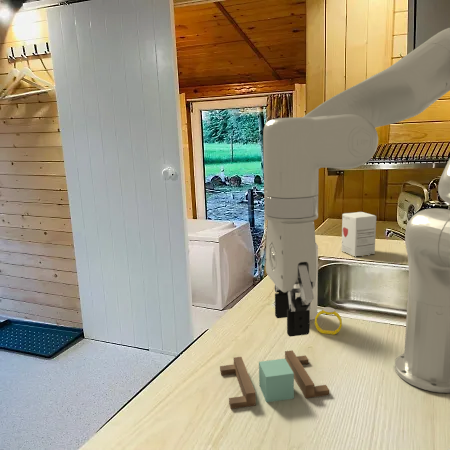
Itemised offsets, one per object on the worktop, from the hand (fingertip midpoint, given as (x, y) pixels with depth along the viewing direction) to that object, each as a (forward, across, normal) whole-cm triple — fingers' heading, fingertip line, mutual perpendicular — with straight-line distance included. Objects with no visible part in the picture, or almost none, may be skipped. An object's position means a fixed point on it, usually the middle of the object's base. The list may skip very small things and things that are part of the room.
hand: (291, 324), depth 63 cm
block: (+18, -9, 0) cm, 20 cm away
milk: (+18, -38, +15) cm, 45 cm away
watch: (+18, -28, +18) cm, 38 cm away
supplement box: (+18, -85, +54) cm, 102 cm away
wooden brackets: (+17, -12, 0) cm, 21 cm away
